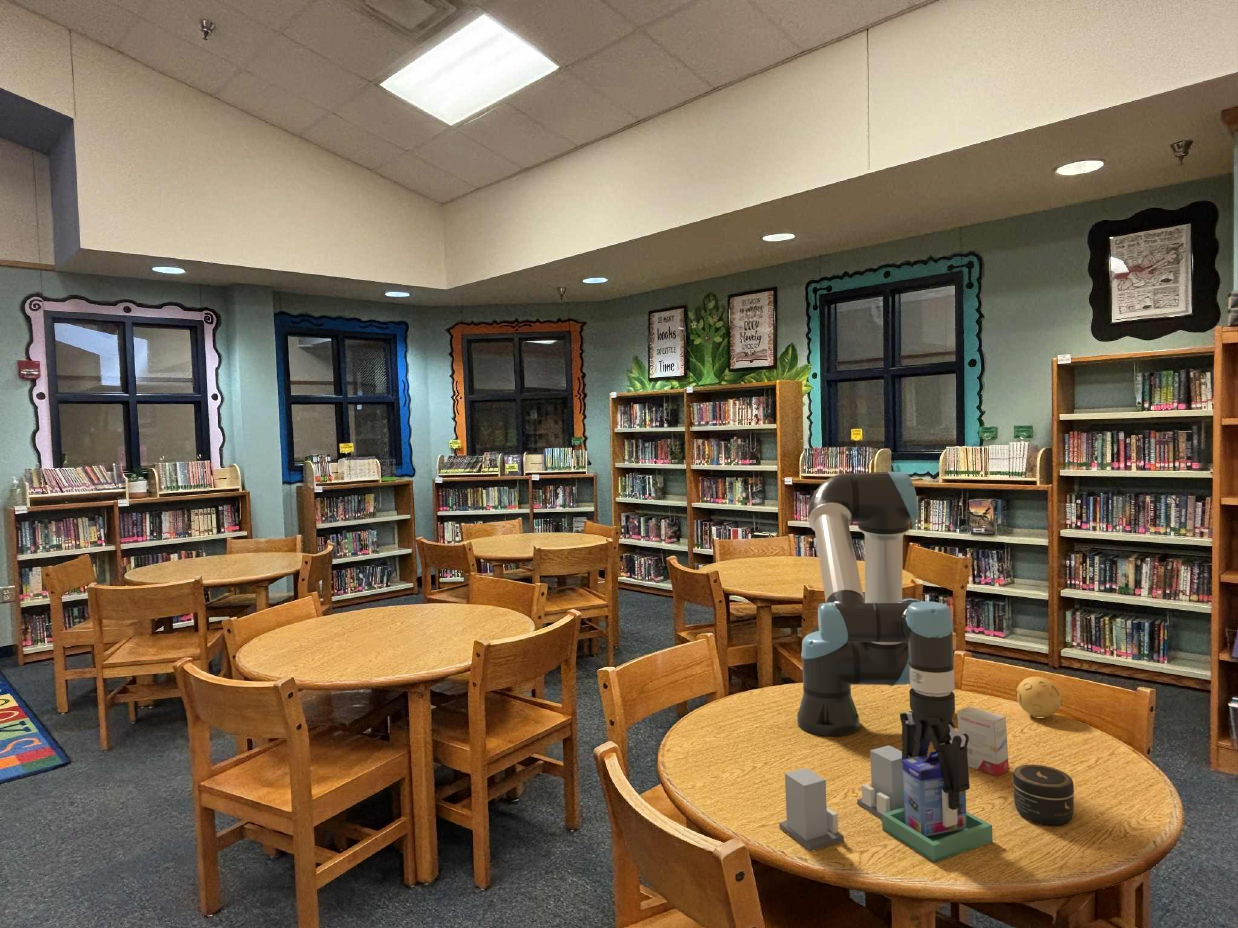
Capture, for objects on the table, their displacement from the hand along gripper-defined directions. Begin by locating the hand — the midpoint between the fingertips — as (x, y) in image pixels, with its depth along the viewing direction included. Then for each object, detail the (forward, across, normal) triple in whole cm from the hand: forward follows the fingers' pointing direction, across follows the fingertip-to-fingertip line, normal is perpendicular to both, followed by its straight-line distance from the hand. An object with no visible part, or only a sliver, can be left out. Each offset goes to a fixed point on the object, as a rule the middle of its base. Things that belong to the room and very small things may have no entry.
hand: (935, 815), depth 132 cm
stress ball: (+4, -28, +65) cm, 71 cm away
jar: (+4, +4, +23) cm, 24 cm away
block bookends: (+4, -11, -10) cm, 15 cm away
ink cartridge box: (+2, 0, 0) cm, 2 cm away
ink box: (+4, -15, +30) cm, 34 cm away
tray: (+4, 0, 0) cm, 4 cm away
